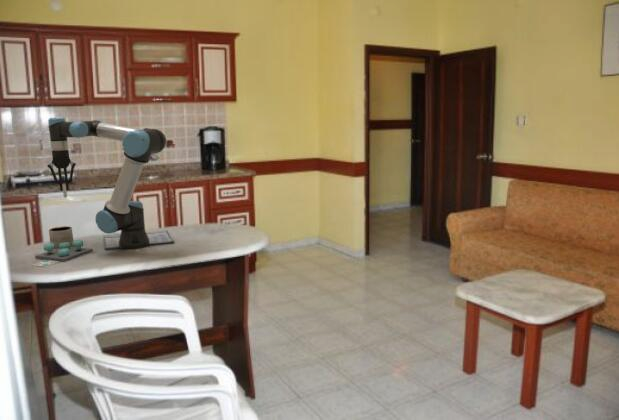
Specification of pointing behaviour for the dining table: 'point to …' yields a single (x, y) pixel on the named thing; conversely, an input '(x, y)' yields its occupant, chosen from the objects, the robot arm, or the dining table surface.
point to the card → (45, 263)
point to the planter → (61, 235)
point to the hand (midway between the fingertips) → (65, 197)
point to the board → (72, 254)
